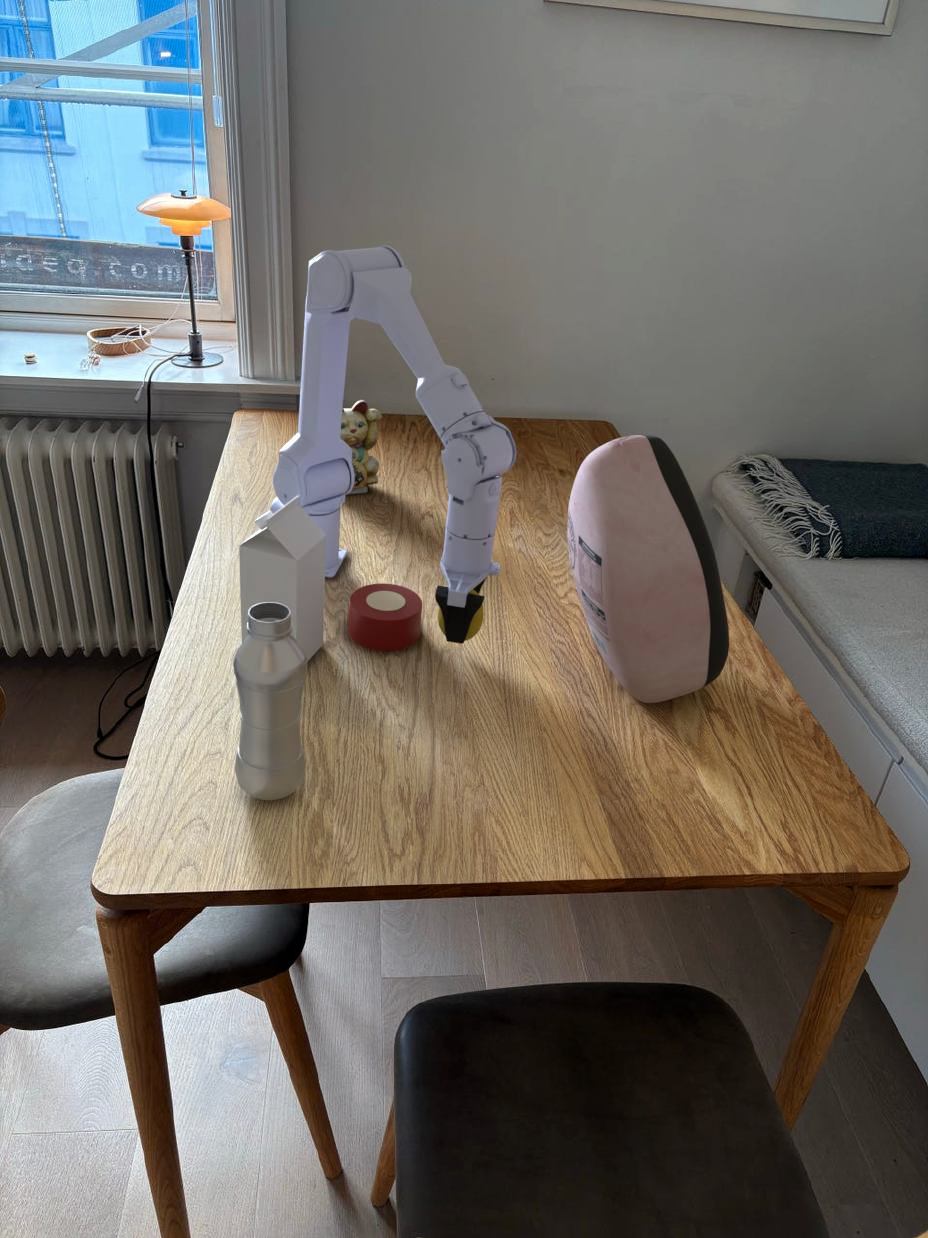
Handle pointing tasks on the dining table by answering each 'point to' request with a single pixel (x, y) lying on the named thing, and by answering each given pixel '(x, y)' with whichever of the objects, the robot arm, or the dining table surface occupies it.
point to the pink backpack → (646, 570)
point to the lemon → (475, 621)
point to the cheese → (384, 617)
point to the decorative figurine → (361, 443)
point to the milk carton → (286, 571)
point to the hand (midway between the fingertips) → (459, 628)
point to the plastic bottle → (270, 704)
